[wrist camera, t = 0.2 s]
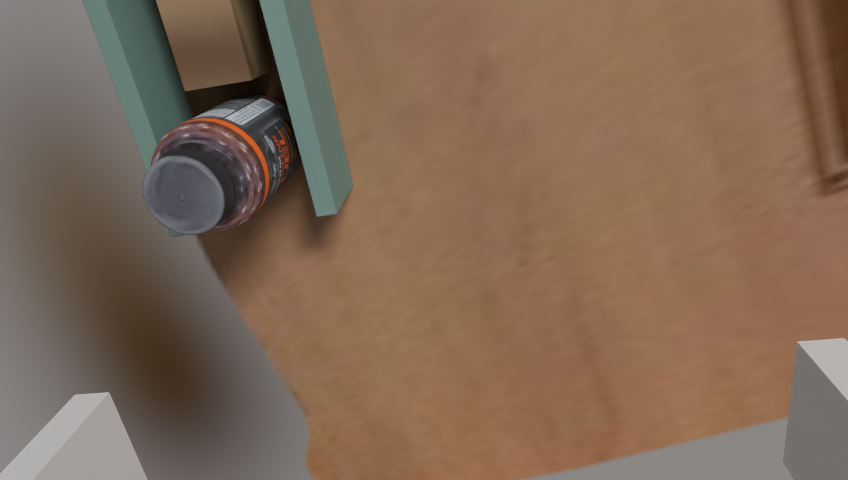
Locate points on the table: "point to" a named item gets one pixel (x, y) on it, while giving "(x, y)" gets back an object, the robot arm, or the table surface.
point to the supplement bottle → (221, 165)
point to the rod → (215, 41)
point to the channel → (166, 101)
